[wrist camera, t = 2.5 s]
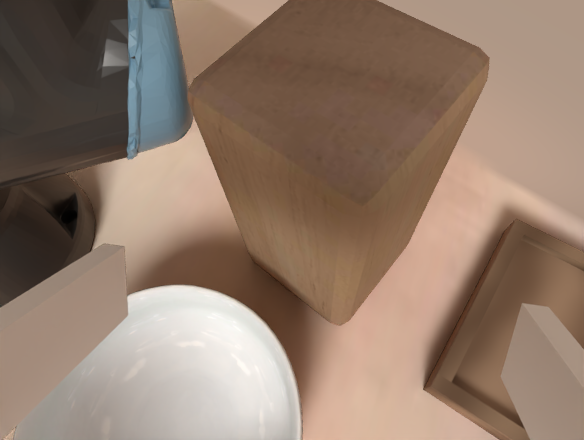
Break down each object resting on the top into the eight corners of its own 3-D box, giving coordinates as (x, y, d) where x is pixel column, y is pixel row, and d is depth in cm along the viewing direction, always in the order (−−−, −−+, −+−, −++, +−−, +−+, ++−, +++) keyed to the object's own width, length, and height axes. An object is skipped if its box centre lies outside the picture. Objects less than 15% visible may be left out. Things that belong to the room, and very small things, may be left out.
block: (319, 179, 38) (318, -37, 21) (411, 241, 35) (507, 48, 17) (245, 258, 35) (170, 84, 17) (340, 333, 32) (366, 215, 14)
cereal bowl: (261, 624, 25) (241, 691, 18) (27, 521, 28) (-59, 548, 21) (332, 343, 32) (335, 322, 25) (139, 286, 35) (100, 254, 29)
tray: (423, 389, 30) (431, 386, 28) (504, 230, 35) (516, 218, 33) (647, 537, 25) (676, 547, 23) (703, 331, 31) (731, 324, 28)
